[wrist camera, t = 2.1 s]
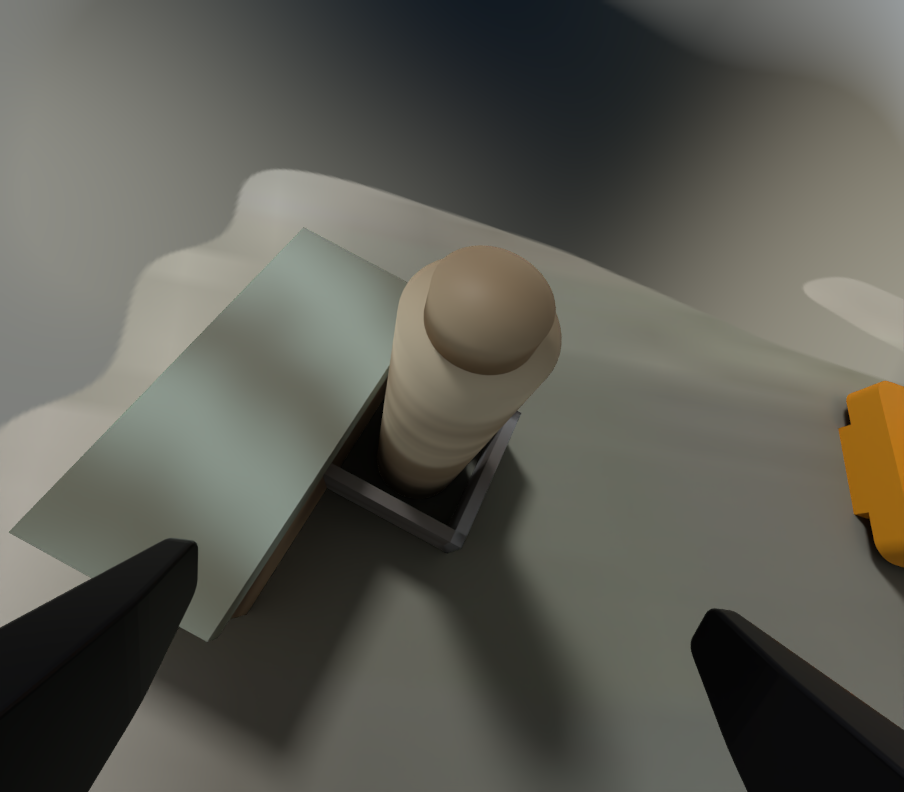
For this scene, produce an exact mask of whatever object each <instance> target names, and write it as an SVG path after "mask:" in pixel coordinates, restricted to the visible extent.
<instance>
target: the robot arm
mask: <svg viewBox="0 0 904 792" xmlns="http://www.w3.org/2000/svg"><path fill="white" fill-rule="evenodd" d="M197 581H198V545H197V543H196V542H195V541H193V540H187V539H180V538H167V539H164V540H162V541H160V542H158V543H157V544H155V545H153V546H151V547H149V548H147V549H145V550H144V551H142V552H140V553H138V554H136V555H134V556H132V557H131V558H129V559H127V560H125V561H123V562H121V563H119V564H118V565H116V566H114V567H112V568H110V569H108V570H106V571H105V572H103V573H101V574H99V575H97V576H95V577H93V578H92V579H90V580H88V581H86V582H84V583H82V584H80V585H78V586H77V587H75V588H73V589H71V590H69V591H67V592H65V593H64V594H62V595H60V596H58V597H56V598H54V599H52V600H51V601H49V602H47V603H45V604H43V605H41V606H39V607H38V608H36V609H34V610H32V611H30V612H28V613H26V614H25V615H23V616H21V617H19V618H17V619H15V620H13V621H12V622H10V623H8V624H6V625H4V626H2V627H0V792H88V791H89V790H90V788H91V786H92V785H93V783H94V781H95V780H96V778H97V776H98V775H99V773H100V771H101V770H102V768H103V766H104V765H105V763H106V761H107V760H108V758H109V756H110V755H111V753H112V751H113V750H114V748H115V746H116V745H117V743H118V742H119V740H120V738H121V737H122V735H123V733H124V732H125V730H126V728H127V727H128V725H129V723H130V722H131V720H132V718H133V716H134V715H135V713H136V711H137V709H138V708H139V706H140V704H141V702H142V700H143V699H144V697H145V695H146V693H147V691H148V689H149V687H150V685H151V683H152V681H153V679H154V677H155V674H156V672H157V670H158V668H159V666H160V664H161V662H162V660H163V658H164V656H165V654H166V652H167V650H168V648H169V646H170V644H171V641H172V639H173V637H174V635H175V633H176V631H177V629H178V627H179V625H180V623H181V621H182V619H183V617H184V615H185V613H186V611H187V608H188V606H189V604H190V602H191V600H192V598H193V596H194V593H195V590H196V587H197ZM691 652H692V656H693V658H694V661H695V664H696V666H697V669H698V672H699V674H700V677H701V680H702V682H703V685H704V687H705V690H706V693H707V695H708V698H709V701H710V703H711V706H712V709H713V711H714V714H715V717H716V719H717V722H718V725H719V727H720V730H721V732H722V735H723V737H724V740H725V742H726V745H727V748H728V750H729V752H730V755H731V757H732V759H733V761H734V764H735V766H736V768H737V770H738V772H739V775H740V777H741V779H742V781H743V783H744V785H745V787H746V790H747V792H904V730H903V729H901V728H900V727H899V726H897V725H896V724H894V723H893V722H891V721H890V720H889V719H887V718H886V717H884V716H883V715H881V714H880V713H879V712H877V711H876V710H874V709H873V708H872V707H870V706H869V705H867V704H866V703H864V702H863V701H862V700H860V699H859V698H857V697H856V696H854V695H853V694H852V693H850V692H849V691H847V690H846V689H844V688H843V687H842V686H840V685H839V684H837V683H836V682H835V681H833V680H832V679H830V678H829V677H827V676H826V675H825V674H823V673H822V672H820V671H819V670H817V669H816V668H815V667H813V666H812V665H810V664H809V663H808V662H806V661H805V660H803V659H802V658H800V657H799V656H798V655H796V654H795V653H793V652H792V651H790V650H789V649H788V648H786V647H785V646H783V645H782V644H780V643H779V642H778V641H776V640H775V639H773V638H772V637H771V636H769V635H768V634H766V633H765V632H763V631H762V630H761V629H759V628H758V627H756V626H755V625H753V624H752V623H751V622H749V621H748V620H746V619H745V618H743V617H742V616H741V615H739V614H738V613H736V612H734V611H730V610H724V609H716V608H714V609H710V610H709V611H707V613H706V614H705V616H704V618H703V619H702V621H701V623H700V625H699V626H698V628H697V630H696V632H695V634H694V635H693V637H692V639H691Z"/></svg>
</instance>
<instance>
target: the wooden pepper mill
mask: <svg viewBox="0 0 904 792" xmlns="http://www.w3.org/2000/svg"><path fill="white" fill-rule="evenodd" d="M555 311H556V307H555V300H554V296H553V293H552V291H551V288H550V286H549V284H548V283H547V281H546V279H545V278H544V277H543V275H542V274H541V273H540V272H539V271H538V270H537V269H536V268H535V267H534V266H533V265H532V264H531V263H529V262H528V261H527V260H525V259H524V258H522V257H520V256H519V255H517V254H515V253H512V252H510V251H507V250H505V249H501V248H497V247H492V246H470V247H465V248H462V249H459V250H456V251H454V252H452V253H451V254H449V255H448V256H446V257H445V258H444V259H441V260H438V261H435V262H433V263H431V264H429V265H427V266H425V267H424V268H422V269H421V270H420V271H418V272H417V273H416V274H415V275H414V276H413V277H412V278H411V279H410V281H409V282H408V283H407V285H406V286H405V288H404V290H403V292H402V295H401V297H400V300H399V305H398V310H397V317H396V324H395V331H394V338H393V345H392V352H391V359H390V366H389V373H388V380H387V387H386V394H385V401H384V409H383V416H382V423H381V430H380V437H379V444H378V451H377V465H378V470H379V473H380V475H381V477H382V479H383V480H384V482H385V483H386V484H387V485H388V487H389V488H391V489H392V490H393V491H394V492H396V493H398V494H399V495H402V496H404V497H407V498H412V499H424V498H429V497H432V496H435V495H437V494H438V493H440V492H441V491H443V490H444V489H445V488H446V487H447V486H448V485H449V484H450V483H451V482H452V481H453V480H454V479H455V478H456V476H457V475H458V474H459V473H460V472H461V471H462V470H463V469H464V468H465V467H466V466H467V464H468V463H469V462H470V461H471V460H472V459H473V458H474V457H475V456H476V455H477V454H478V453H479V451H480V450H481V449H482V448H483V447H484V446H485V445H486V444H487V443H488V442H489V441H490V439H491V438H492V437H493V436H494V435H495V434H496V433H497V432H498V431H499V430H500V429H501V427H502V426H503V425H504V424H505V423H506V422H507V421H508V420H509V419H510V418H511V417H512V415H513V414H514V413H515V412H516V411H517V410H518V409H519V408H520V407H521V406H522V405H523V403H524V402H525V401H526V400H527V399H528V398H529V397H530V396H531V395H532V394H533V393H534V391H535V390H536V389H537V388H538V387H539V386H540V385H541V384H542V383H543V382H544V381H545V379H546V378H547V377H548V376H549V375H550V373H551V372H552V371H553V369H554V367H555V365H556V363H557V361H558V358H559V355H560V350H561V328H560V324H559V320H558V317H557V314H556V312H555Z"/></svg>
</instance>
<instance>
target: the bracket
mask: <svg viewBox="0 0 904 792" xmlns="http://www.w3.org/2000/svg"><path fill="white" fill-rule="evenodd" d="M846 402H847V407H848V412H849V417H850V422H851V425H848V426H845V427H842V428H839V434H840V440H841V445H842V451H843V456H844V462H845V467H846V473H847V478H848V483H849V489H850V494H851V500H852V505H853V511H854V514H855V515H858V516H861V517H864V518H867V519H870V522H871V527H872V532H873V537H874V542H875V545H876V547H877V549H878V551H879V552H880V554H881V555H882V556H883V557H884V558H885V559H886V560H887V561H888V562H890V563H892V564H894V565H897V566H900V567H904V387H903V386H900V385H897V384H895V383H892V382H889V381H882V382H880V383H877V384H874V385H872V386H869V387H867V388H864V389H861V390H859V391H856V392H854V393H851V394H849V395H848V396H847V399H846Z"/></svg>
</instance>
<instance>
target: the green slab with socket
mask: <svg viewBox="0 0 904 792" xmlns="http://www.w3.org/2000/svg"><path fill="white" fill-rule="evenodd" d="M407 283H408V282H406V281H404V280H402V279H400V278H398V277H396V276H394V275H393V274H391V273H389V272H387V271H385V270H383V269H381V268H379V267H378V266H376V265H374V264H372V263H370V262H368V261H366V260H364V259H363V258H361V257H359V256H357V255H355V254H353V253H351V252H349V251H348V250H346V249H344V248H342V247H340V246H338V245H336V244H334V243H333V242H331V241H329V240H327V239H325V238H323V237H321V236H319V235H318V234H316V233H314V232H312V231H310V230H308V229H306V228H303V229H302V230H301V231H300V232H299V233H298V234H297V235H296V236H295V237H294V238H293V239H292V240H291V241H290V242H289V243H288V244H287V245H286V246H285V247H284V248H283V249H282V250H281V251H280V252H279V253H278V254H277V256H276V257H275V258H274V259H273V260H272V261H271V262H270V263H269V264H268V265H267V266H266V267H265V268H264V269H263V270H262V271H261V272H260V273H259V274H258V275H257V276H256V277H255V278H254V279H253V280H252V281H251V282H250V283H249V284H248V285H247V286H246V288H245V289H244V290H243V291H242V292H241V293H240V294H239V295H238V296H237V297H236V298H235V299H234V300H233V301H232V302H231V303H230V304H229V305H228V306H227V307H226V308H225V309H224V310H223V311H222V312H221V313H220V314H219V315H218V316H217V317H216V319H215V320H214V321H213V322H212V323H211V324H210V325H209V326H208V327H207V328H206V329H205V330H204V331H203V332H202V333H201V334H200V335H199V336H198V337H197V338H196V339H195V340H194V341H193V342H192V343H191V344H190V345H189V346H188V347H187V348H186V350H185V351H184V352H183V353H182V354H181V355H180V356H179V357H178V358H177V359H176V360H175V361H174V362H173V363H172V364H171V365H170V366H169V367H168V368H167V369H166V370H165V371H164V372H163V373H162V374H161V375H160V376H159V377H158V378H157V379H156V380H155V382H154V383H153V384H152V385H151V386H150V387H149V388H148V389H147V390H146V391H145V392H144V393H143V394H142V395H141V396H140V397H139V398H138V399H137V400H136V401H135V402H134V403H133V404H132V405H131V406H130V407H129V408H128V409H127V410H126V411H125V413H124V414H123V415H122V416H121V417H120V418H119V419H118V420H117V421H116V422H115V423H114V424H113V425H112V426H111V427H110V428H109V429H108V430H107V431H106V432H105V433H104V434H103V435H102V436H101V437H100V438H99V439H98V440H97V441H96V442H95V444H94V445H93V446H92V447H91V448H90V449H89V450H88V451H87V452H86V453H85V454H84V455H83V456H82V457H81V458H80V459H79V460H78V461H77V462H76V463H75V464H74V465H73V466H72V467H71V468H70V469H69V470H68V471H67V472H66V473H65V474H64V476H63V477H62V478H61V479H60V480H59V481H58V482H57V483H56V484H55V485H54V486H53V487H52V488H51V489H50V490H49V491H48V492H47V493H46V494H45V495H44V496H43V497H42V498H41V499H40V500H39V501H38V502H37V503H36V504H35V505H34V507H33V508H32V509H31V510H30V511H29V512H28V513H27V514H26V515H25V516H24V517H23V518H22V519H21V520H20V521H19V522H18V523H17V524H16V525H15V526H14V527H13V528H12V529H11V530H10V531H9V533H11V534H12V535H14V536H16V537H18V538H20V539H22V540H23V541H25V542H27V543H29V544H31V545H32V546H34V547H36V548H38V549H40V550H41V551H43V552H45V553H47V554H49V555H50V556H52V557H54V558H56V559H58V560H60V561H61V562H63V563H65V564H67V565H69V566H70V567H72V568H74V569H76V570H78V571H79V572H81V573H83V574H85V575H87V576H89V577H90V578H93V577H95V576H97V575H99V574H101V573H103V572H105V571H106V570H108V569H110V568H112V567H114V566H116V565H118V564H119V563H121V562H123V561H125V560H127V559H129V558H131V557H132V556H134V555H136V554H138V553H140V552H142V551H144V550H145V549H147V548H149V547H151V546H153V545H155V544H157V543H158V542H160V541H162V540H164V539H167V538H180V539H187V540H193V541H195V542H196V543H197V545H198V581H197V587H196V590H195V593H194V596H193V598H192V600H191V602H190V604H189V606H188V608H187V611H186V613H185V615H184V617H183V619H182V621H181V623H180V625H179V627H181V628H183V629H184V630H186V631H188V632H190V633H192V634H194V635H195V636H197V637H199V638H201V639H203V640H204V641H206V642H208V641H211V640H213V639H216V638H218V636H219V635H220V633H221V632H222V630H223V629H224V627H225V626H226V624H227V622H228V621H229V619H232V618H236V617H239V616H243V615H246V614H247V613H248V611H249V610H250V608H251V607H252V605H253V603H254V602H255V600H256V599H257V597H258V596H259V594H260V592H261V591H262V589H263V588H264V586H265V585H266V583H267V581H268V580H269V578H270V577H271V575H272V574H273V572H274V570H275V569H276V567H277V566H278V564H279V563H280V561H281V559H282V558H283V556H284V555H285V553H286V552H287V550H288V548H289V547H290V545H291V544H292V542H293V541H294V539H295V537H296V536H297V534H298V533H299V531H300V530H301V528H302V526H303V525H304V523H305V522H306V520H307V519H308V517H309V515H310V514H311V512H312V511H313V509H314V508H315V506H316V504H317V503H318V501H319V500H320V498H321V497H322V495H323V493H324V492H325V490H326V489H327V488H328V489H330V490H332V491H333V492H335V493H337V494H339V495H341V496H343V497H345V498H346V499H348V500H350V501H352V502H354V503H356V504H357V505H359V506H361V507H363V508H365V509H367V510H368V511H370V512H372V513H374V514H376V515H378V516H380V517H381V518H383V519H385V520H387V521H389V522H391V523H392V524H394V525H396V526H398V527H400V528H402V529H403V530H405V531H407V532H409V533H411V534H413V535H414V536H416V537H418V538H420V539H422V540H424V541H426V542H427V543H429V544H431V545H433V546H435V547H437V548H438V549H440V550H442V551H444V552H446V553H449V552H452V551H455V550H458V549H461V548H462V546H463V544H464V542H465V539H466V537H467V535H468V532H469V530H470V528H471V526H472V523H473V521H474V519H475V517H476V514H477V512H478V510H479V508H480V505H481V503H482V501H483V499H484V496H485V494H486V492H487V490H488V487H489V485H490V483H491V480H492V478H493V476H494V474H495V471H496V469H497V467H498V465H499V462H500V460H501V458H502V456H503V453H504V451H505V449H506V447H507V444H508V442H509V440H510V438H511V435H512V433H513V431H514V428H515V426H516V424H517V422H518V419H519V417H520V415H521V413H520V412H518V411H516V412H515V413H514V414H513V415H512V417H511V418H510V419H509V420H508V421H507V422H506V423H505V424H504V425H503V426H502V427H501V429H500V430H499V431H498V432H497V433H496V434H495V435H494V436H493V437H492V438H491V439H490V441H489V442H488V443H487V444H486V446H485V448H484V450H483V452H482V454H481V456H480V458H479V460H478V463H477V465H476V467H475V469H474V471H473V473H472V475H471V477H470V480H469V482H468V484H467V486H466V488H465V490H464V492H463V495H462V497H461V499H460V501H459V503H458V505H457V507H456V509H455V512H454V514H453V516H452V518H451V520H450V522H449V524H448V526H447V525H445V524H443V523H441V522H439V521H437V520H436V519H434V518H432V517H430V516H428V515H426V514H424V513H423V512H421V511H419V510H417V509H415V508H413V507H412V506H410V505H408V504H406V503H404V502H402V501H400V500H399V499H397V498H395V497H393V496H391V495H389V494H388V493H386V492H384V491H382V490H380V489H378V488H377V487H375V486H373V485H371V484H369V483H367V482H365V481H364V480H362V479H360V478H358V477H356V476H354V475H353V474H351V473H349V472H347V471H345V470H343V469H341V468H340V467H341V465H342V464H343V462H344V460H345V459H346V457H347V456H348V454H349V453H350V451H351V449H352V448H353V446H354V445H355V443H356V442H357V440H358V438H359V437H360V435H361V434H362V432H363V431H364V429H365V427H366V426H367V424H368V423H369V421H370V420H371V418H372V416H373V415H374V413H375V412H376V410H377V409H378V407H379V405H380V404H381V402H382V401H383V399H384V398H385V394H386V387H387V380H388V373H389V366H390V359H391V352H392V345H393V338H394V331H395V324H396V317H397V310H398V305H399V300H400V297H401V295H402V292H403V290H404V288H405V286H406V285H407Z"/></svg>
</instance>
